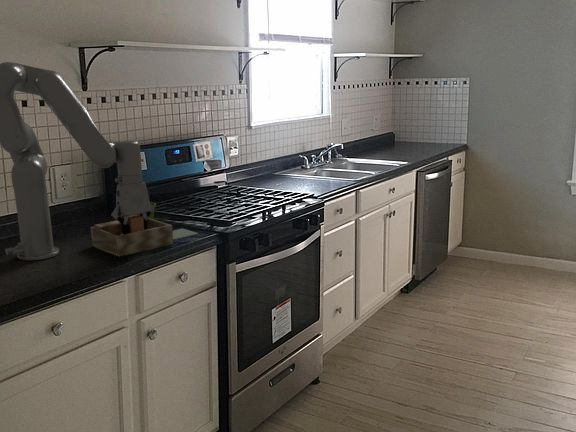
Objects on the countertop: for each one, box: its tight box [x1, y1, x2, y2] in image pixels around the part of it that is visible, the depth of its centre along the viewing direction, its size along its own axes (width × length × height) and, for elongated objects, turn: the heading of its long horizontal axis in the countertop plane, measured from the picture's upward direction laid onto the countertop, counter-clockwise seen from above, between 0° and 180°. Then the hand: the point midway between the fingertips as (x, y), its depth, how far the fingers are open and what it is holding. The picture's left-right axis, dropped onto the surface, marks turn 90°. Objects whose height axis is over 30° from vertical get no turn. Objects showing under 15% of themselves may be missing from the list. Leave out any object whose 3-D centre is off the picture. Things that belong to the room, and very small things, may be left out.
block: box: [127, 215, 144, 233], centre depth 214 cm, size 4×4×6 cm
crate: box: [90, 217, 174, 258], centre depth 217 cm, size 20×18×7 cm
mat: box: [172, 228, 200, 241], centre depth 229 cm, size 10×10×1 cm
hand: (134, 233), depth 215 cm, fingers open, 5 cm apart
